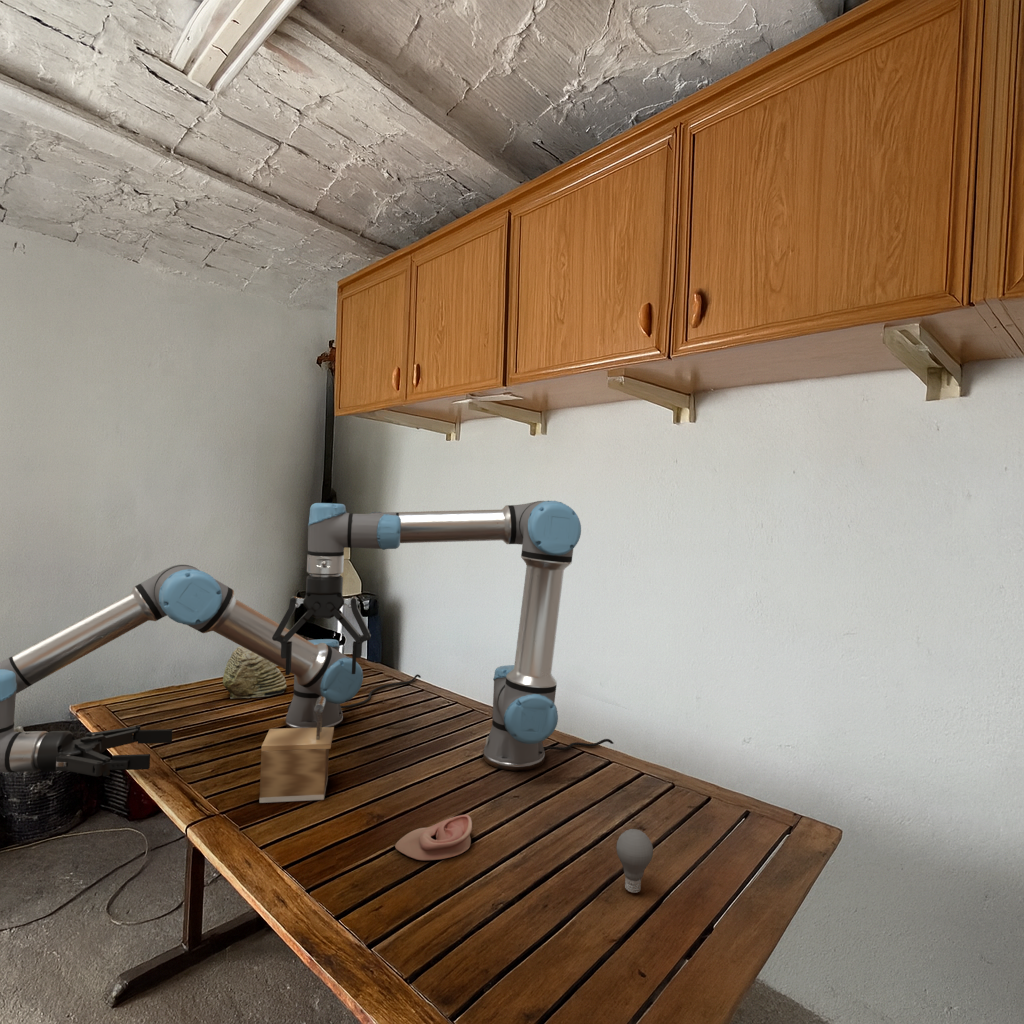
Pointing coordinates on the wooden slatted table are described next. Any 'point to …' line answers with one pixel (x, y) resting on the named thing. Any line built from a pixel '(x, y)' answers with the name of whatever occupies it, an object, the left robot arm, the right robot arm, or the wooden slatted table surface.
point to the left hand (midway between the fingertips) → (161, 748)
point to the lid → (301, 735)
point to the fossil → (252, 676)
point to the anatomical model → (438, 839)
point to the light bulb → (634, 857)
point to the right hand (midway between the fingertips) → (321, 673)
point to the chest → (293, 775)
